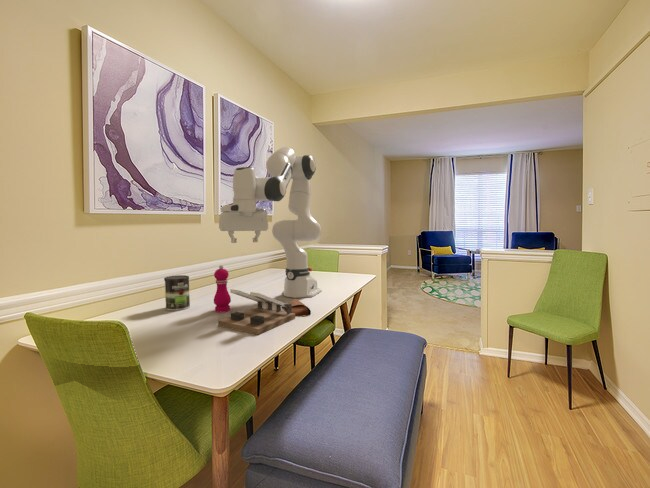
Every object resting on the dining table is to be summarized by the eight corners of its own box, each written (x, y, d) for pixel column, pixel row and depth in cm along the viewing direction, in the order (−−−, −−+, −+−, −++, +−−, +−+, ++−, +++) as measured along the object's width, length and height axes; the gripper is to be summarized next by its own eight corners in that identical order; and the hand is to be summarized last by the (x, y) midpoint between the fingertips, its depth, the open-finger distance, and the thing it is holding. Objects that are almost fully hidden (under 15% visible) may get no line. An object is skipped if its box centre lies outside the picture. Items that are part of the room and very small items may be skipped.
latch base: (257, 311, 148) (257, 298, 148) (295, 318, 138) (295, 304, 137) (218, 325, 129) (217, 310, 129) (258, 334, 119) (258, 318, 119)
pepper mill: (226, 312, 146) (224, 266, 145) (210, 312, 148) (209, 266, 146) (234, 308, 153) (232, 264, 152) (219, 307, 155) (217, 263, 153)
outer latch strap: (279, 305, 140) (280, 303, 140) (287, 307, 138) (288, 304, 138) (249, 295, 125) (250, 292, 125) (257, 296, 123) (258, 293, 123)
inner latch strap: (260, 302, 145) (261, 300, 146) (268, 304, 143) (268, 301, 143) (229, 292, 130) (230, 289, 130) (237, 293, 128) (238, 290, 128)
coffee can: (193, 307, 155) (192, 277, 154) (169, 312, 148) (168, 280, 147) (185, 303, 163) (184, 274, 161) (162, 307, 156) (161, 277, 155)
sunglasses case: (279, 306, 156) (286, 293, 157) (292, 312, 158) (299, 299, 159) (291, 317, 139) (299, 302, 140) (305, 323, 142) (313, 309, 143)
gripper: (263, 209, 145) (263, 241, 146) (216, 207, 131) (217, 243, 132) (271, 208, 140) (271, 242, 141) (224, 206, 127) (224, 243, 127)
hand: (244, 242), depth 136 cm, fingers open, 8 cm apart
